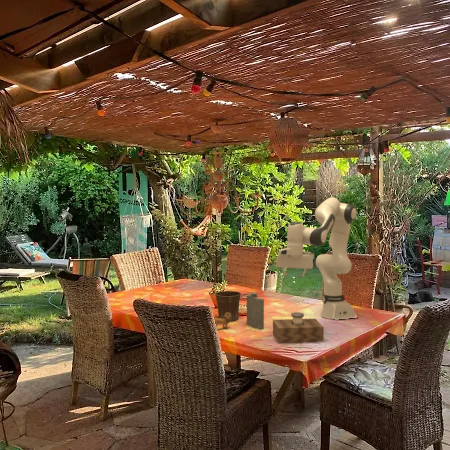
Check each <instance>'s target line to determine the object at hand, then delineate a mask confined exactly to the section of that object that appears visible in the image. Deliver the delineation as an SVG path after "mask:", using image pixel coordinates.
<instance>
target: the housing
mask: <svg viewBox="0 0 450 450" xmlns="http://www.w3.org/2000/svg"><path fill="white" fill-rule="evenodd" d="M324 331H325V327H324V325H322V324H321V323H320V321H318V319H316V318H302V325H293V318H292V319H287V318H285V319H272V335H273V337H274V338H275V340H276V342H277V344H295V343H296V344H298V343H301V344H303V343H304V342H306V343H318V342H317V341H324V338H325V337H324V335H325V334H324V333H325V332H324Z"/></svg>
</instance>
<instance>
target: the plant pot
mask: <svg viewBox="0 0 450 450" xmlns="http://www.w3.org/2000/svg"><path fill="white" fill-rule="evenodd" d="M241 295H242V292H240V291H236V290H223V291H217V292H215V294H214V296H215V299H216V300H215V301H216V305H217V316H218V319H220V318H223V317H224V315H225V314H226V313H231V320H230V322H233V321H236V320H237V321H238V319H239V313H240V312H239V309H240V300H241Z"/></svg>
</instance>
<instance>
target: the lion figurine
mask: <svg viewBox="0 0 450 450" xmlns="http://www.w3.org/2000/svg"><path fill="white" fill-rule="evenodd" d="M213 319H214V320H215V324H216V326H217V327H218V325H220V326H222V329H225V330H228V324H229V323H230V322H231V321H230V320H231V313H226V314H225V315H224V317H223V318H220V319H219V317H218V318H217V317H216V318H213Z"/></svg>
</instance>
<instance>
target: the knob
mask: <svg viewBox="0 0 450 450" xmlns="http://www.w3.org/2000/svg"><path fill="white" fill-rule="evenodd" d="M290 316H291V317H292V319H293V325H302V319H303V317H304V318H305V314H304V312H298V311H297V312H291V314H290Z"/></svg>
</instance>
